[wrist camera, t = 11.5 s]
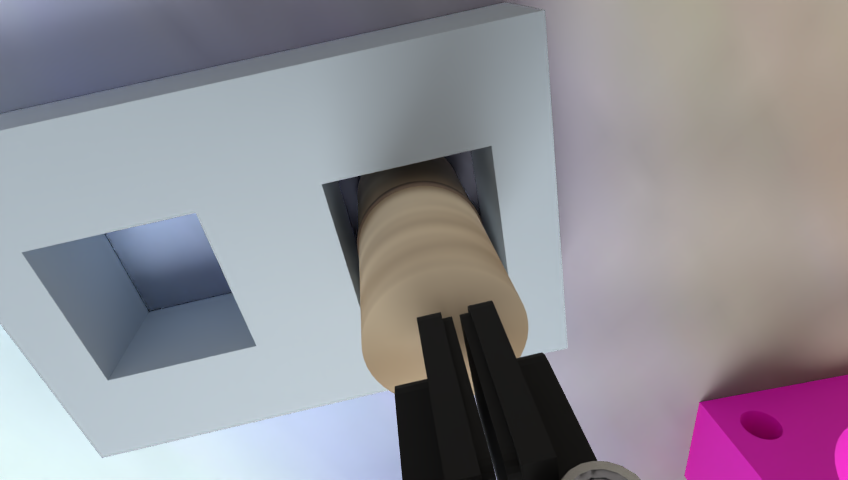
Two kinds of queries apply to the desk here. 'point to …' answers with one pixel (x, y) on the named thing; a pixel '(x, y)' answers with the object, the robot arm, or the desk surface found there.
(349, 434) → the desk surface
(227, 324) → the board
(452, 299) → the dowel
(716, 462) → the toy block
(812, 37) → the desk surface
